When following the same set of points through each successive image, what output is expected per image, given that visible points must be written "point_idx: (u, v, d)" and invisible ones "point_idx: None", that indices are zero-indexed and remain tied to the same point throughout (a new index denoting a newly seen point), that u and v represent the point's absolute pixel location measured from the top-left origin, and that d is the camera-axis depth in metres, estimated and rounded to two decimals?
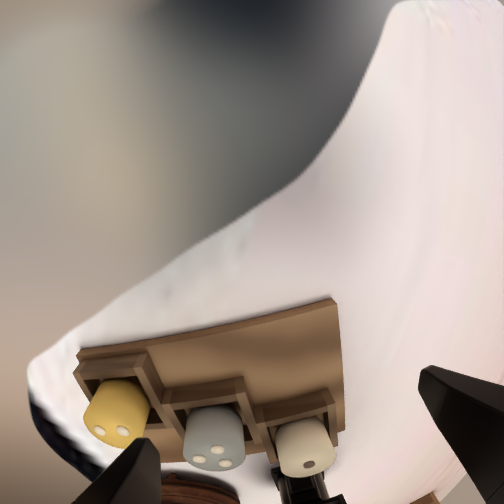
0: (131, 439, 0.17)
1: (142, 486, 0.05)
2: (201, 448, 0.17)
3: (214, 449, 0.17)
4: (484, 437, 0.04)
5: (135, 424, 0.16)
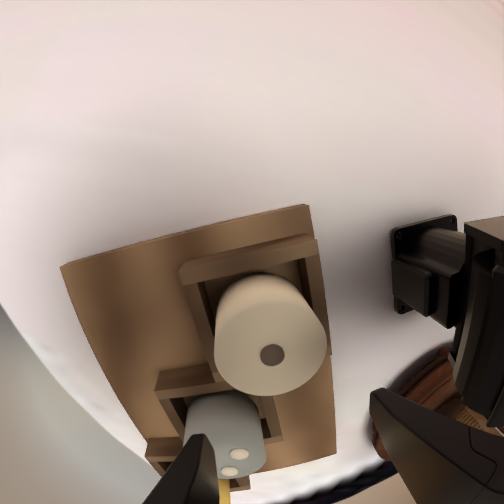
0: None
1: (205, 486, 0.05)
2: None
3: None
4: (429, 474, 0.04)
5: None
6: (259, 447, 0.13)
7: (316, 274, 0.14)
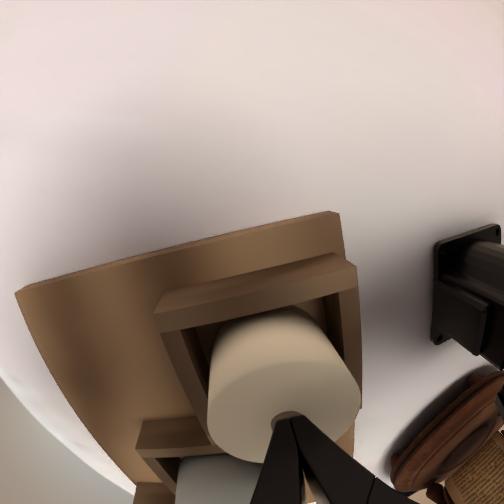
0: None
1: (301, 470, 0.05)
2: None
3: None
4: None
5: None
6: None
7: (352, 314, 0.10)
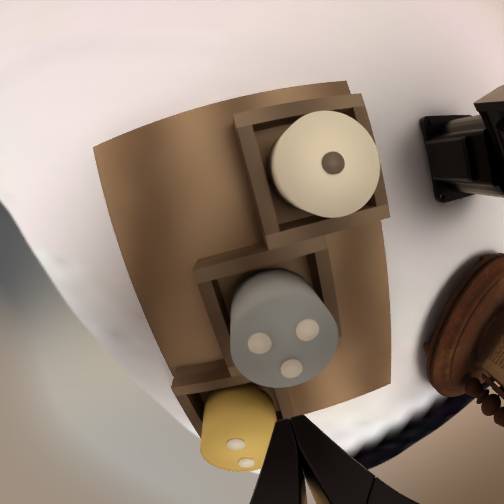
0: (255, 438, 0.13)
1: (301, 470, 0.05)
2: (260, 364, 0.12)
3: (256, 349, 0.12)
4: None
5: (221, 429, 0.13)
6: (331, 318, 0.12)
7: (365, 124, 0.13)
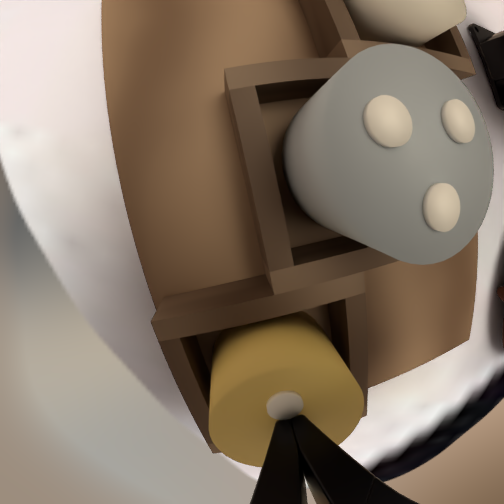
0: (323, 389, 0.07)
1: (302, 470, 0.05)
2: (388, 184, 0.05)
3: (386, 130, 0.04)
4: None
5: (258, 371, 0.07)
6: (481, 118, 0.05)
7: None
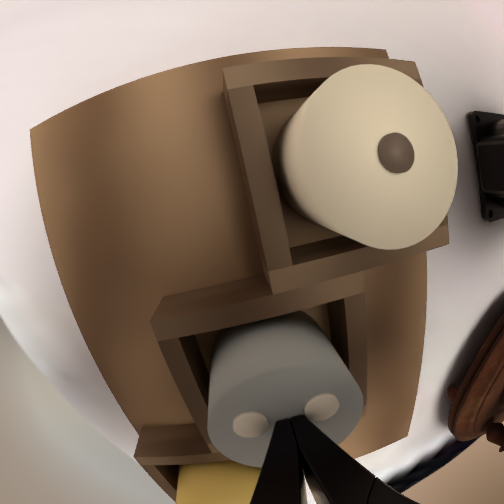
0: None
1: (301, 470, 0.05)
2: (251, 446, 0.07)
3: (246, 432, 0.07)
4: None
5: (198, 499, 0.08)
6: (357, 389, 0.07)
7: None
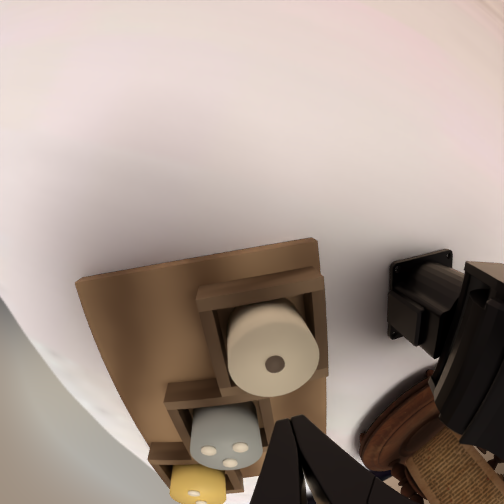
0: (207, 491, 0.16)
1: (301, 470, 0.05)
2: (209, 458, 0.15)
3: (206, 453, 0.15)
4: None
5: (183, 484, 0.16)
6: (257, 442, 0.15)
7: (320, 307, 0.16)
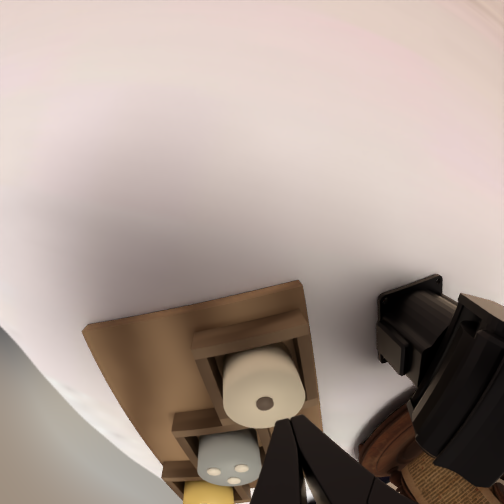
0: (216, 503, 0.17)
1: (301, 470, 0.05)
2: (215, 477, 0.16)
3: (212, 474, 0.16)
4: None
5: (195, 498, 0.17)
6: (256, 463, 0.16)
7: (306, 349, 0.16)
